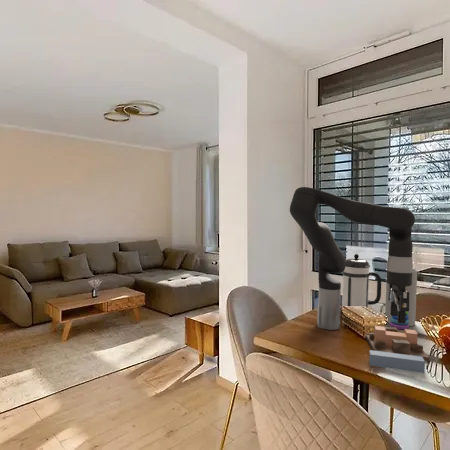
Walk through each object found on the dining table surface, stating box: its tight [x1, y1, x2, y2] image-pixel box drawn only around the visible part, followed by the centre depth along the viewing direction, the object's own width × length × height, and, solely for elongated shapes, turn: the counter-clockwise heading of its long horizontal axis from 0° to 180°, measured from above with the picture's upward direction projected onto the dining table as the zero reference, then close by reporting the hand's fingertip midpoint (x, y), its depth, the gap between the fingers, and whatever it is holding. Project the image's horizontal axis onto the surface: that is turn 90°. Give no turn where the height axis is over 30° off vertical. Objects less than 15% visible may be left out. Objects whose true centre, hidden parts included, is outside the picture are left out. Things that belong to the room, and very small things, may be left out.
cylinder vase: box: [384, 268, 418, 327], centre depth 164 cm, size 12×12×25 cm
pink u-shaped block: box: [373, 325, 418, 348], centre depth 133 cm, size 14×4×6 cm, turn 72°
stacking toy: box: [389, 291, 410, 333], centre depth 151 cm, size 8×8×19 cm
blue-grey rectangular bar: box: [368, 349, 426, 374], centre depth 117 cm, size 16×4×4 cm, turn 72°
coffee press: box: [340, 253, 382, 311], centre depth 178 cm, size 17×16×30 cm
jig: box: [365, 325, 430, 362], centre depth 133 cm, size 17×20×5 cm
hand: (397, 319), depth 117 cm, fingers open, 8 cm apart
